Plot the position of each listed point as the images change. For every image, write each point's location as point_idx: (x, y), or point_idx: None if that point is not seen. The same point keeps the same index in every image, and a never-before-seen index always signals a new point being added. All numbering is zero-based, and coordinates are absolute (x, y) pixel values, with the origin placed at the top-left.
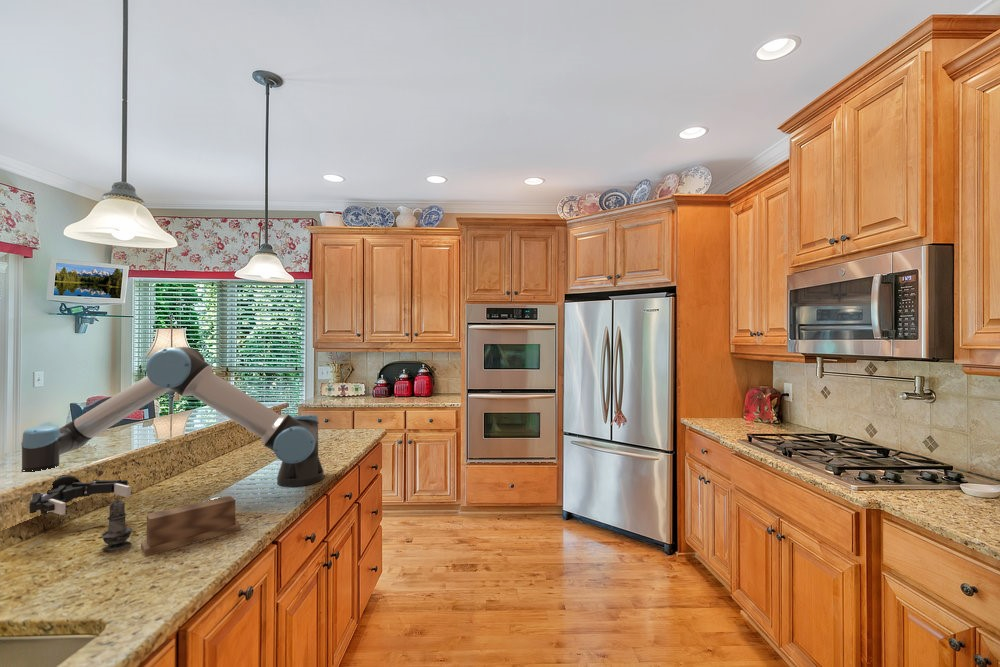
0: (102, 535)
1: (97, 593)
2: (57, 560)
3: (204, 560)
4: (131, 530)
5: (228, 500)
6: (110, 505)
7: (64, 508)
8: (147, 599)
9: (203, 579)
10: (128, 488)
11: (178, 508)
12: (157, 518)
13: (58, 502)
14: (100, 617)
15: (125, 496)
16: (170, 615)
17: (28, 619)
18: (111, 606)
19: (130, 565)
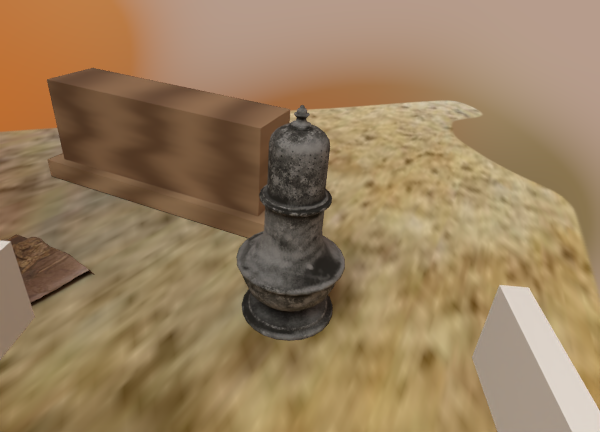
0: (339, 269)
1: (436, 172)
2: (469, 386)
3: None
4: (260, 232)
5: (99, 72)
6: (328, 141)
7: (491, 324)
8: (392, 128)
9: (316, 114)
10: (7, 250)
11: (187, 105)
12: (271, 107)
13: (552, 336)
14: (453, 137)
15: (15, 336)
16: (393, 104)
17: (540, 186)
18: (433, 142)
19: (345, 199)
